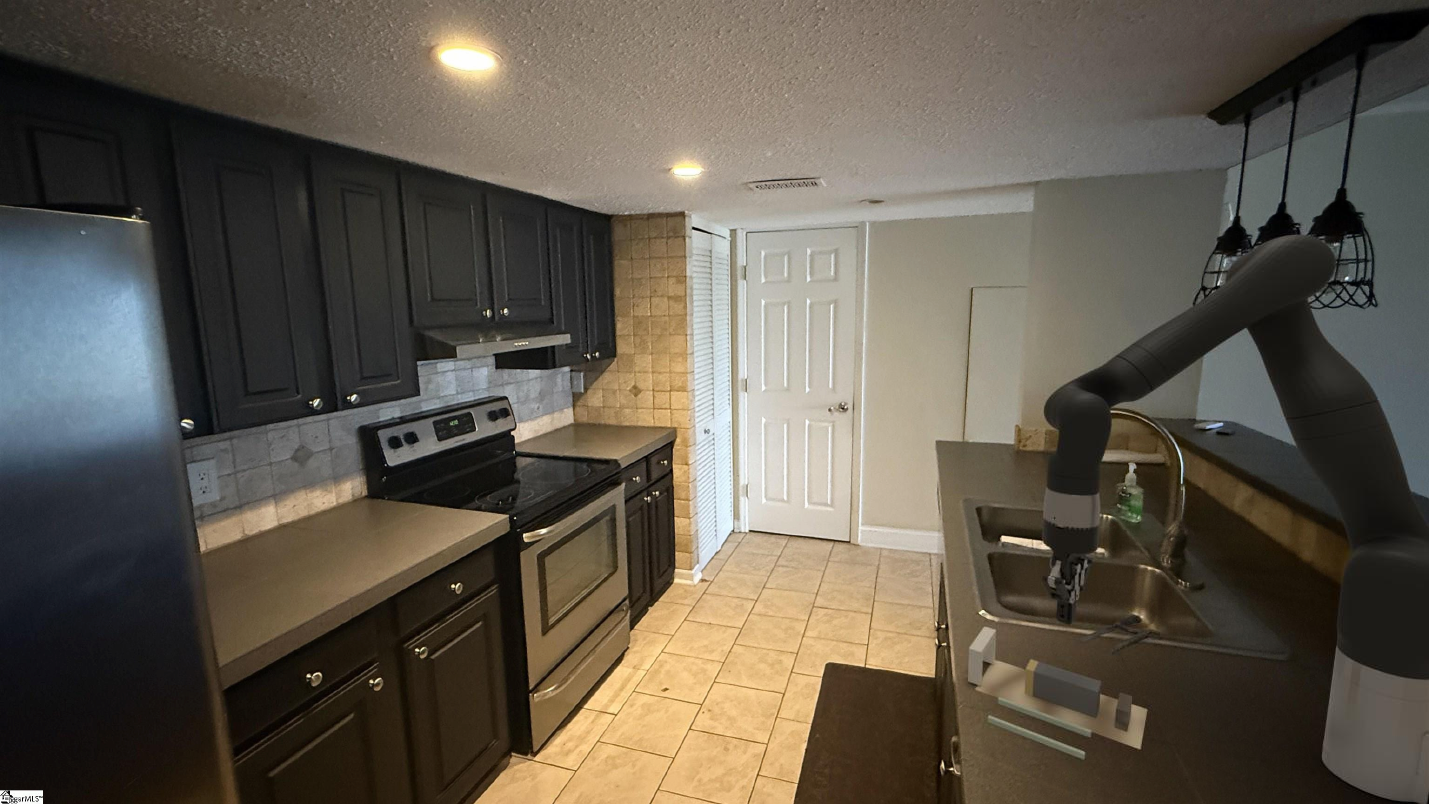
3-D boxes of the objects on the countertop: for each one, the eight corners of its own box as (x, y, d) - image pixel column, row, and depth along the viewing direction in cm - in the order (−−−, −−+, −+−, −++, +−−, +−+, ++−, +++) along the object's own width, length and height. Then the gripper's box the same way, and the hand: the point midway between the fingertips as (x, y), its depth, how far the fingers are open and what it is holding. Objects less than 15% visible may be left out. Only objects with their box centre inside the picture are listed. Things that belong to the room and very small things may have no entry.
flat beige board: (1147, 712, 95) (1148, 690, 95) (1140, 753, 87) (1141, 729, 86) (993, 662, 110) (994, 643, 109) (975, 692, 102) (975, 672, 101)
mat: (1090, 738, 90) (1091, 730, 90) (1083, 763, 85) (1084, 754, 85) (998, 704, 98) (999, 697, 98) (987, 725, 94) (987, 717, 93)
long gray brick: (1099, 706, 96) (1101, 681, 95) (1096, 718, 93) (1097, 692, 93) (1029, 683, 103) (1030, 659, 102) (1024, 693, 100) (1025, 668, 99)
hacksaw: (1133, 618, 124) (1133, 611, 124) (1189, 642, 115) (1190, 635, 114) (1055, 649, 114) (1055, 641, 114) (1109, 678, 105) (1110, 670, 104)
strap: (994, 661, 109) (996, 629, 108) (980, 685, 102) (981, 652, 101) (983, 657, 110) (984, 626, 109) (967, 681, 103) (969, 648, 102)
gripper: (1063, 502, 100) (1058, 600, 102) (1026, 521, 92) (1021, 627, 94) (1114, 513, 94) (1108, 616, 96) (1079, 534, 86) (1073, 646, 88)
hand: (1065, 621), depth 95 cm, fingers closed
